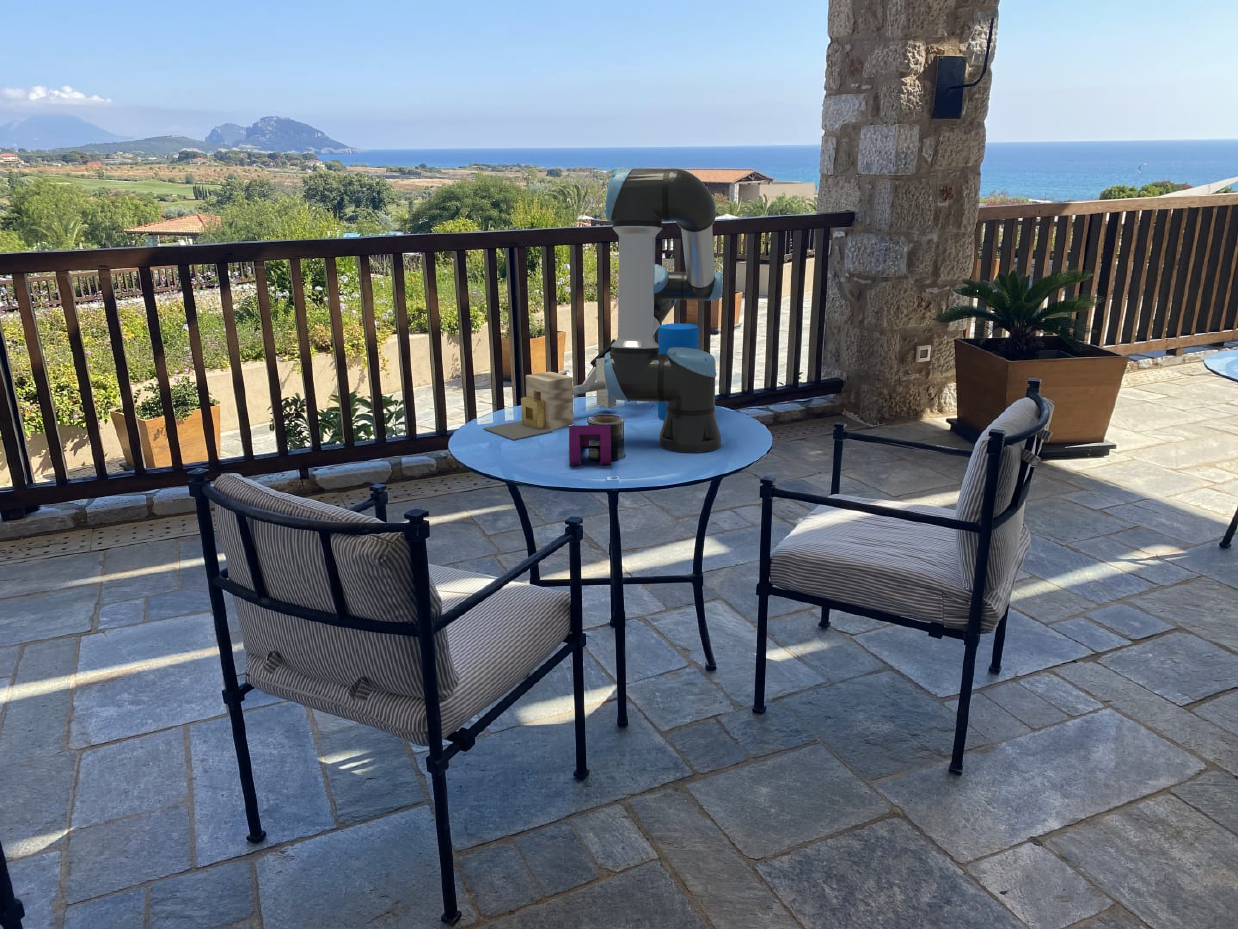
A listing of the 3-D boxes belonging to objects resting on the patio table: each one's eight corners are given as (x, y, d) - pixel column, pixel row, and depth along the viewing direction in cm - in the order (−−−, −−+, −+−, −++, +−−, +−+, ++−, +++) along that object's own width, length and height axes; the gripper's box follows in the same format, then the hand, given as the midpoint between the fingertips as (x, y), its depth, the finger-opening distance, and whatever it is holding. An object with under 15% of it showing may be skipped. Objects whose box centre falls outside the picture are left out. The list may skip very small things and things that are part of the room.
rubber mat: (521, 421, 237) (521, 420, 237) (552, 432, 227) (552, 430, 227) (483, 429, 230) (483, 428, 230) (513, 440, 220) (513, 439, 220)
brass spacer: (529, 422, 235) (528, 396, 233) (545, 428, 230) (544, 401, 227) (522, 424, 233) (520, 397, 231) (537, 429, 228) (536, 402, 226)
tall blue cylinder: (659, 411, 247) (660, 322, 240) (697, 413, 246) (699, 323, 238) (655, 421, 237) (656, 329, 229) (695, 422, 236) (697, 329, 228)
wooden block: (551, 418, 241) (550, 371, 237) (573, 425, 234) (572, 377, 230) (527, 422, 236) (525, 375, 232) (549, 430, 229) (547, 381, 225)
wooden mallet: (605, 402, 249) (604, 357, 245) (616, 406, 245) (616, 360, 242) (540, 415, 235) (538, 368, 231) (551, 419, 232) (549, 371, 228)
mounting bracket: (572, 473, 214) (568, 462, 196) (571, 439, 215) (568, 425, 197) (610, 472, 214) (611, 462, 196) (610, 438, 215) (610, 424, 197)
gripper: (676, 344, 242) (634, 407, 237) (620, 333, 259) (580, 392, 255) (662, 326, 237) (619, 390, 232) (606, 317, 255) (565, 376, 250)
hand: (598, 391), depth 243 cm, fingers open, 11 cm apart
